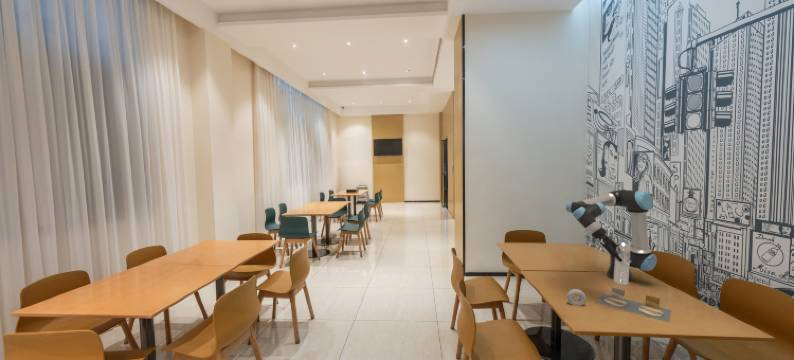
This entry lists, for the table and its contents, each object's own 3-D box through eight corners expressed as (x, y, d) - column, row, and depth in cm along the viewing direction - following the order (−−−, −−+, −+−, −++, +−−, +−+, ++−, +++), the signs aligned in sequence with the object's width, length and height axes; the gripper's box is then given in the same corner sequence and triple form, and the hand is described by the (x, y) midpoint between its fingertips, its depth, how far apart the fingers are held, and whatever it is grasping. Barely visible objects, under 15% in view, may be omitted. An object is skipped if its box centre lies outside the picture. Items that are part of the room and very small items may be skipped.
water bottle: (610, 280, 181) (613, 238, 179) (621, 280, 181) (624, 238, 179) (619, 285, 174) (622, 241, 172) (631, 285, 174) (634, 241, 172)
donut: (584, 305, 180) (585, 289, 180) (586, 308, 177) (587, 291, 176) (565, 303, 183) (566, 287, 182) (567, 306, 180) (567, 289, 179)
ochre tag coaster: (640, 303, 181) (640, 293, 180) (665, 309, 173) (665, 299, 173) (636, 311, 170) (637, 301, 170) (663, 318, 163) (663, 307, 163)
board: (602, 295, 194) (603, 293, 194) (671, 312, 172) (671, 310, 172) (596, 304, 182) (596, 302, 181) (669, 324, 159) (669, 322, 159)
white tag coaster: (607, 295, 192) (607, 285, 192) (629, 300, 184) (629, 290, 184) (602, 302, 182) (602, 292, 181) (625, 308, 174) (626, 298, 174)
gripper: (595, 231, 194) (625, 263, 184) (586, 237, 180) (618, 272, 170) (605, 224, 190) (637, 257, 179) (597, 229, 176) (630, 265, 166)
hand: (627, 264), depth 175 cm, fingers closed on water bottle, 7 cm apart
